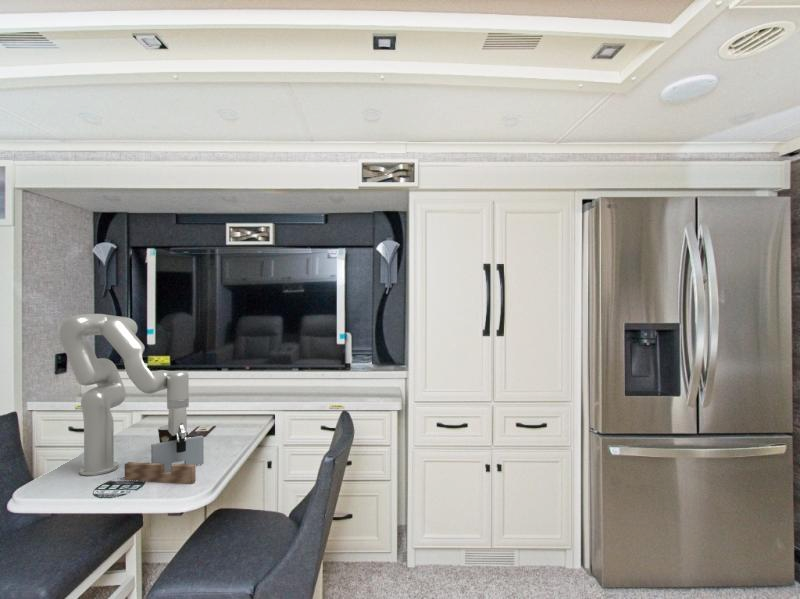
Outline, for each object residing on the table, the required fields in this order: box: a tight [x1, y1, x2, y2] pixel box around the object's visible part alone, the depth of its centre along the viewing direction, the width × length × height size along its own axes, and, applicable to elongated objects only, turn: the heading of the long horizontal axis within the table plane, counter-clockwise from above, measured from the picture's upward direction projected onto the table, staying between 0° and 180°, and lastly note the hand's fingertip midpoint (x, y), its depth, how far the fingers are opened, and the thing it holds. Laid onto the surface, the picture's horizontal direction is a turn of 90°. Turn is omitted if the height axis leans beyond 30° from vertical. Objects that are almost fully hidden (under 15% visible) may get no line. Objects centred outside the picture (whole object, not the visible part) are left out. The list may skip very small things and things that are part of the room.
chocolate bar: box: [187, 425, 217, 438], centre depth 229 cm, size 9×1×18 cm
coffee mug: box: [157, 424, 189, 443], centre depth 200 cm, size 12×9×10 cm
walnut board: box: [124, 461, 197, 485], centre depth 166 cm, size 26×2×6 cm, turn 83°
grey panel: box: [150, 436, 204, 472], centre depth 178 cm, size 18×2×11 cm, turn 128°
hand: (178, 448), depth 178 cm, fingers open, 8 cm apart
